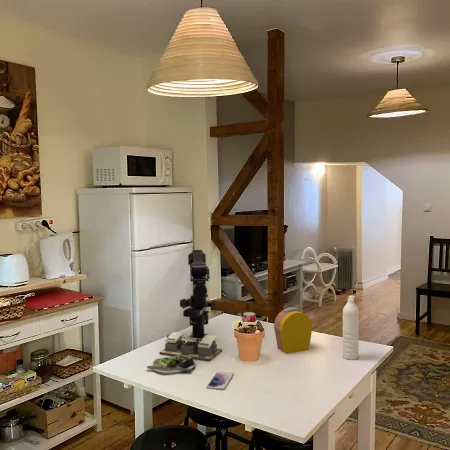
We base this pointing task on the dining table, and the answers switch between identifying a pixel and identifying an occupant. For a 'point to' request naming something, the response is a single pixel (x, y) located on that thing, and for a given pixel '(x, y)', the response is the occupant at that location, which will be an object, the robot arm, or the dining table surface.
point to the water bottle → (350, 330)
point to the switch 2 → (207, 341)
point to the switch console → (191, 350)
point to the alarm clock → (292, 331)
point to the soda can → (249, 317)
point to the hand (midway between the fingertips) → (200, 328)
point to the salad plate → (173, 364)
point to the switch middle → (189, 339)
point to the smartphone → (220, 381)
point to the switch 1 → (174, 337)
